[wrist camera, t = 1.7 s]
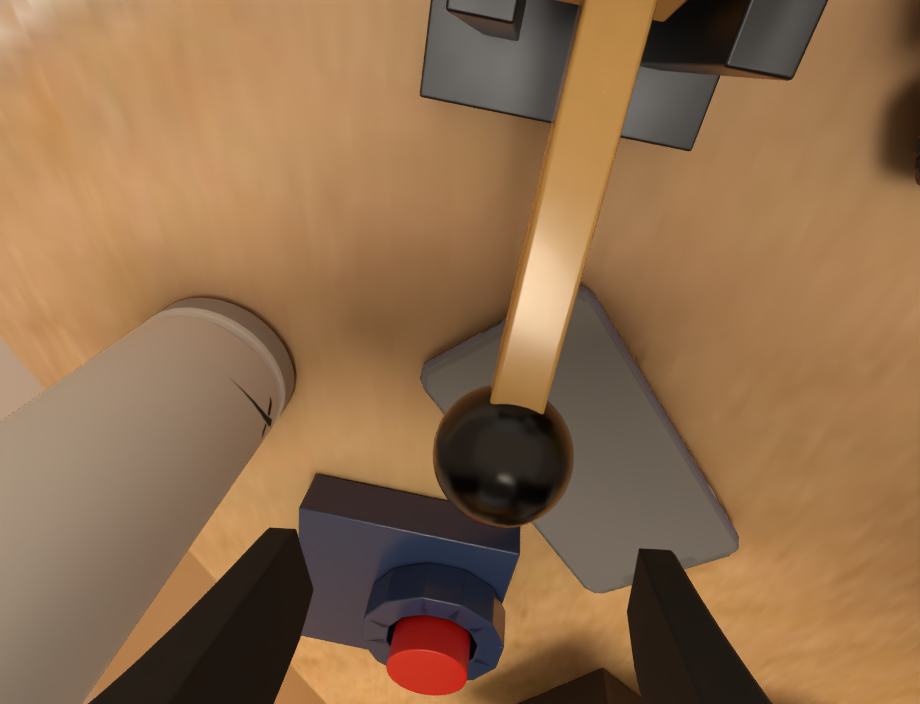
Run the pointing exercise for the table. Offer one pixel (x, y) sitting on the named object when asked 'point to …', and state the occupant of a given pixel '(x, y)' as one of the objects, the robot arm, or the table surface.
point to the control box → (402, 568)
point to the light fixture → (590, 692)
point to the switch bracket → (660, 73)
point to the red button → (429, 655)
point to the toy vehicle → (917, 160)
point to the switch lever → (547, 282)
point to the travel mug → (123, 485)
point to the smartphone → (605, 454)
